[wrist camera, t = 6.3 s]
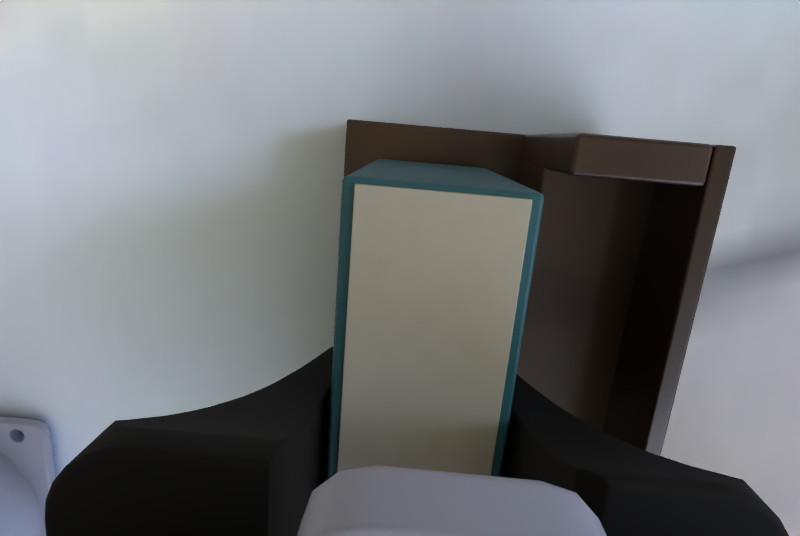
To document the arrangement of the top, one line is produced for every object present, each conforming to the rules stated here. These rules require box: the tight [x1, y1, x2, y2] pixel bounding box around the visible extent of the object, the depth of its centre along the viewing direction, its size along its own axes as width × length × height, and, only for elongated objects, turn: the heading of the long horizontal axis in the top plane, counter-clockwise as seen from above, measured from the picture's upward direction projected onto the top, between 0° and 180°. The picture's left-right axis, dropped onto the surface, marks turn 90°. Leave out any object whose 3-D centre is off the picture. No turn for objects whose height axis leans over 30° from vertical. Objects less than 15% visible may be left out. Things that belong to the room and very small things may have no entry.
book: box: [326, 159, 544, 481], centre depth 12 cm, size 3×11×7 cm, turn 175°
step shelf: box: [344, 119, 736, 456], centre depth 14 cm, size 8×13×6 cm, turn 175°
